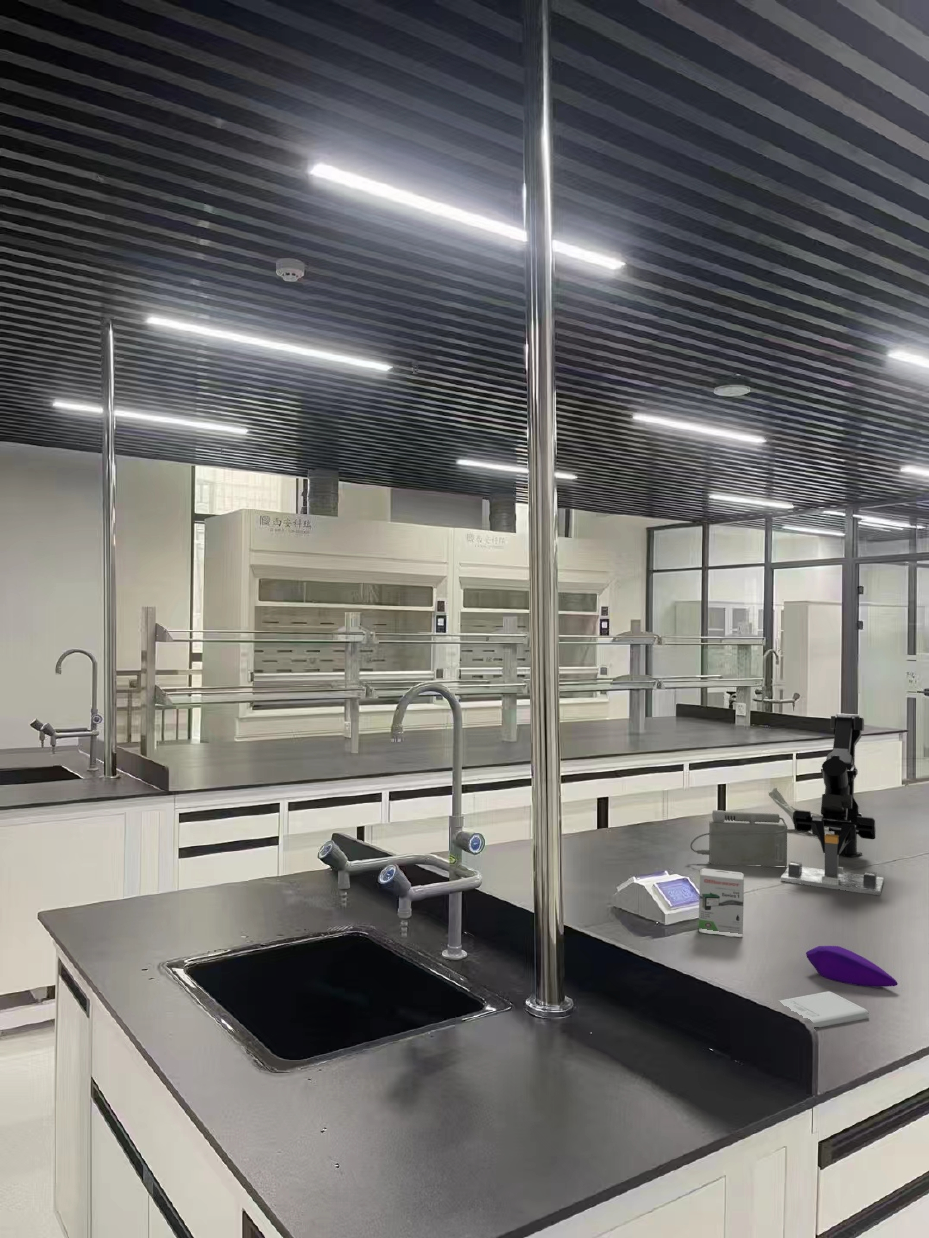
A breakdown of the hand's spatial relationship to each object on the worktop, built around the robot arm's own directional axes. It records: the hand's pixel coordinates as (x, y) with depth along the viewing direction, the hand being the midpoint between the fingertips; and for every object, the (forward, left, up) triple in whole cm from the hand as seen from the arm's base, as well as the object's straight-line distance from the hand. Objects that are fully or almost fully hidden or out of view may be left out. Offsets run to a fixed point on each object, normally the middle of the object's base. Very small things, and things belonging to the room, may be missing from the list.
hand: (831, 853), depth 208 cm
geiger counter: (+3, -24, -8) cm, 26 cm away
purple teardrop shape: (+54, +36, -8) cm, 65 cm away
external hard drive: (+71, +40, -8) cm, 82 cm away
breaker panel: (-3, -1, -8) cm, 8 cm away
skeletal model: (-52, -40, -8) cm, 66 cm away
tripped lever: (-1, -1, -6) cm, 6 cm away
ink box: (+52, +8, -8) cm, 53 cm away
